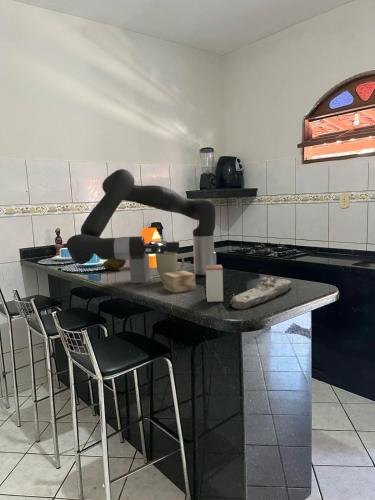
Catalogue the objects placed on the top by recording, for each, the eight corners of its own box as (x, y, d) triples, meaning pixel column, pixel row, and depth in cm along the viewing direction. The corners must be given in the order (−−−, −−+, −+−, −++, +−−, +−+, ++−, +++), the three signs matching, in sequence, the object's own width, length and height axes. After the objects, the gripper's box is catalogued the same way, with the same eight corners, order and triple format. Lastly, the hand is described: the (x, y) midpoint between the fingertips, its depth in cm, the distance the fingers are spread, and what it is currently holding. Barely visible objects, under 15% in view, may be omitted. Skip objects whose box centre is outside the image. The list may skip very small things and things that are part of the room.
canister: (206, 297, 131) (205, 265, 129) (222, 297, 131) (221, 264, 129) (207, 301, 125) (206, 268, 124) (223, 301, 125) (222, 267, 124)
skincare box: (145, 283, 156) (143, 245, 154) (129, 283, 158) (126, 245, 156) (151, 279, 164) (149, 242, 162) (135, 279, 166) (133, 243, 164)
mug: (175, 285, 151) (174, 255, 149) (153, 284, 154) (151, 255, 153) (185, 279, 161) (184, 251, 160) (163, 278, 165) (162, 251, 163)
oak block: (184, 285, 152) (184, 270, 151) (195, 289, 144) (195, 274, 143) (163, 288, 147) (163, 273, 147) (173, 293, 140) (173, 277, 139)
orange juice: (153, 268, 193) (151, 228, 190) (139, 266, 197) (137, 228, 195) (162, 265, 199) (160, 227, 197) (149, 264, 204) (147, 227, 201)
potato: (116, 267, 197) (115, 252, 196) (129, 270, 187) (128, 254, 186) (101, 270, 192) (100, 254, 191) (113, 273, 182) (112, 256, 181)
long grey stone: (222, 311, 120) (249, 318, 114) (221, 295, 119) (250, 301, 113) (273, 283, 146) (298, 288, 140) (273, 270, 145) (298, 274, 139)
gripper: (125, 238, 118) (178, 237, 118) (132, 234, 132) (179, 233, 132) (126, 262, 119) (178, 261, 119) (133, 256, 133) (179, 255, 133)
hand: (178, 246), depth 126 cm, fingers open, 8 cm apart
